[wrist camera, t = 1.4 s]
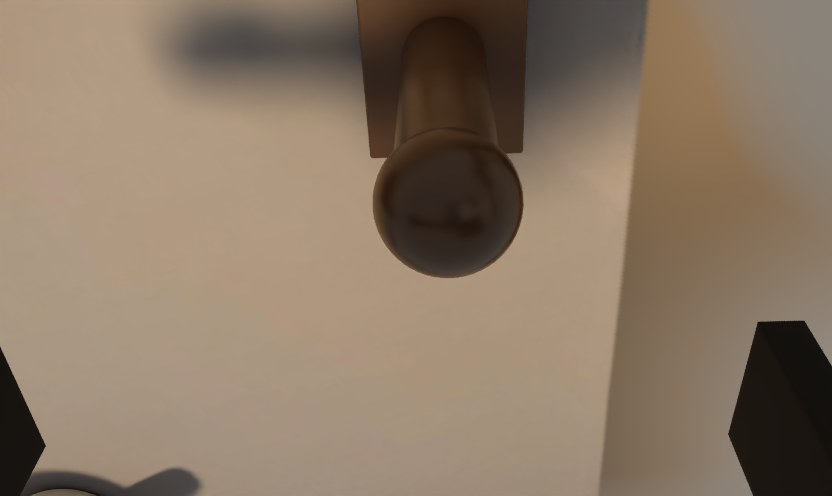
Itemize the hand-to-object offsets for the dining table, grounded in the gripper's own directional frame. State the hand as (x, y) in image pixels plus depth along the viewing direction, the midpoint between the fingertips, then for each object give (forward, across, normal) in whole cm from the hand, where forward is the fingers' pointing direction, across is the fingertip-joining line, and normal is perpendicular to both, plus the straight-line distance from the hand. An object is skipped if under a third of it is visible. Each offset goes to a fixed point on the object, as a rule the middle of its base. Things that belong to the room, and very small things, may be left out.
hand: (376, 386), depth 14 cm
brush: (+20, +1, 0) cm, 20 cm away
